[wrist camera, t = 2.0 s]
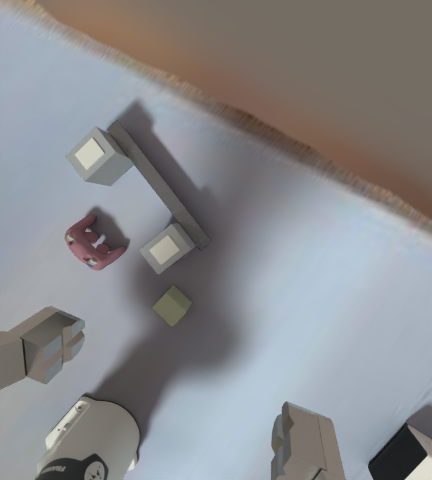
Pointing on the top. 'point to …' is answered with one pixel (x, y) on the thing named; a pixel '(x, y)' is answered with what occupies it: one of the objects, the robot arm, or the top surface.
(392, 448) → the laminator
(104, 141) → the mounted modules
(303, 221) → the top surface
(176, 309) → the block
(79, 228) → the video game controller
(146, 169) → the rail bar
